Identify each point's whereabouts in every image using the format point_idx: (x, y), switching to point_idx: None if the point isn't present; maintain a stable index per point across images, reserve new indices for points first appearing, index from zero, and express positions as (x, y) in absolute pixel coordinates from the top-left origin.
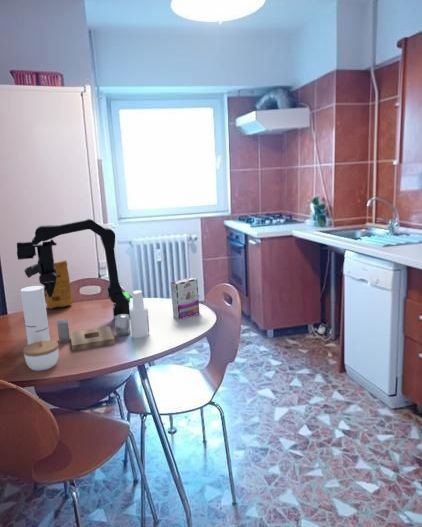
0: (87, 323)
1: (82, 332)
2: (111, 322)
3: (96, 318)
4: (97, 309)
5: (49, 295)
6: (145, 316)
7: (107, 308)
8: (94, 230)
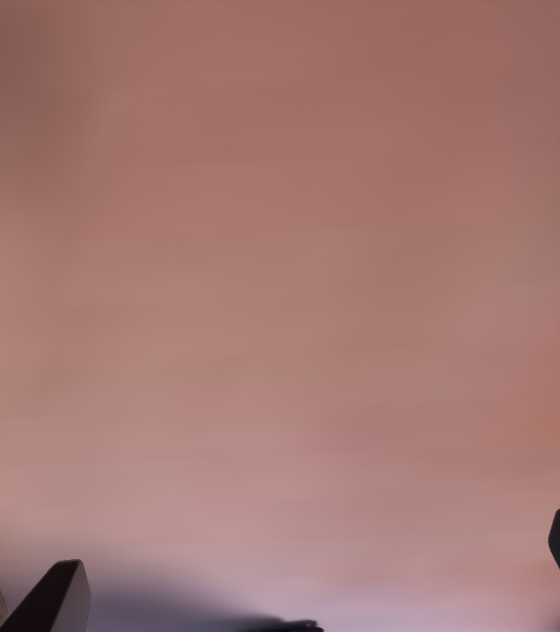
0: (273, 496)
1: None
2: (222, 612)
3: (354, 539)
4: None
5: (32, 613)
6: None
7: (526, 584)
8: None
